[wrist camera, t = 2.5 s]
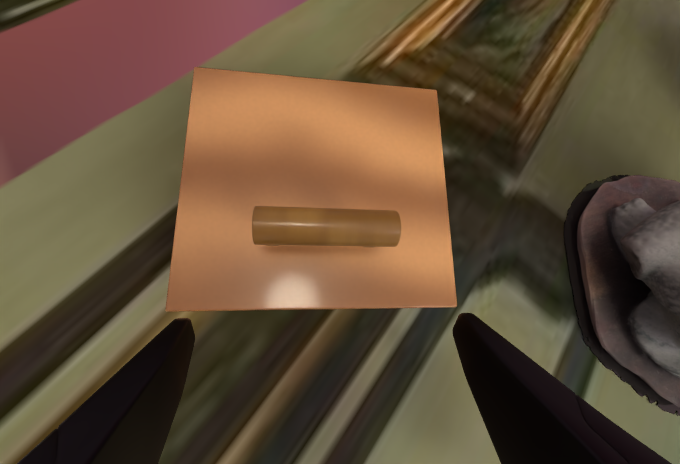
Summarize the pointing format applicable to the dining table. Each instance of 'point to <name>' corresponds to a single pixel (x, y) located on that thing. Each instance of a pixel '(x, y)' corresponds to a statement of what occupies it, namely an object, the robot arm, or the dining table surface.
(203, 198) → the lid
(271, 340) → the dining table surface
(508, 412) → the robot arm
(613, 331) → the angel statue
